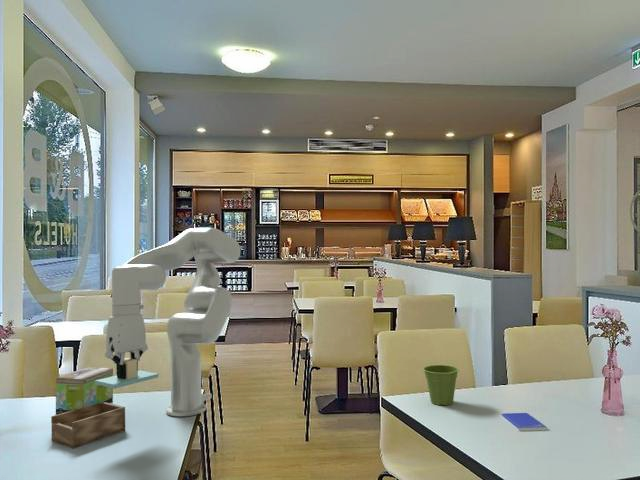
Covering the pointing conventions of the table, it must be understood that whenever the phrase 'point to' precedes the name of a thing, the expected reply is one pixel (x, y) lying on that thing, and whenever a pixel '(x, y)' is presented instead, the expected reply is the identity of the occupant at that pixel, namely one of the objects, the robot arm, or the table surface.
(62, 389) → the tea box
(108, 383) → the cover plate
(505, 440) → the table surface
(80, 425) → the walnut box
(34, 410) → the table surface
